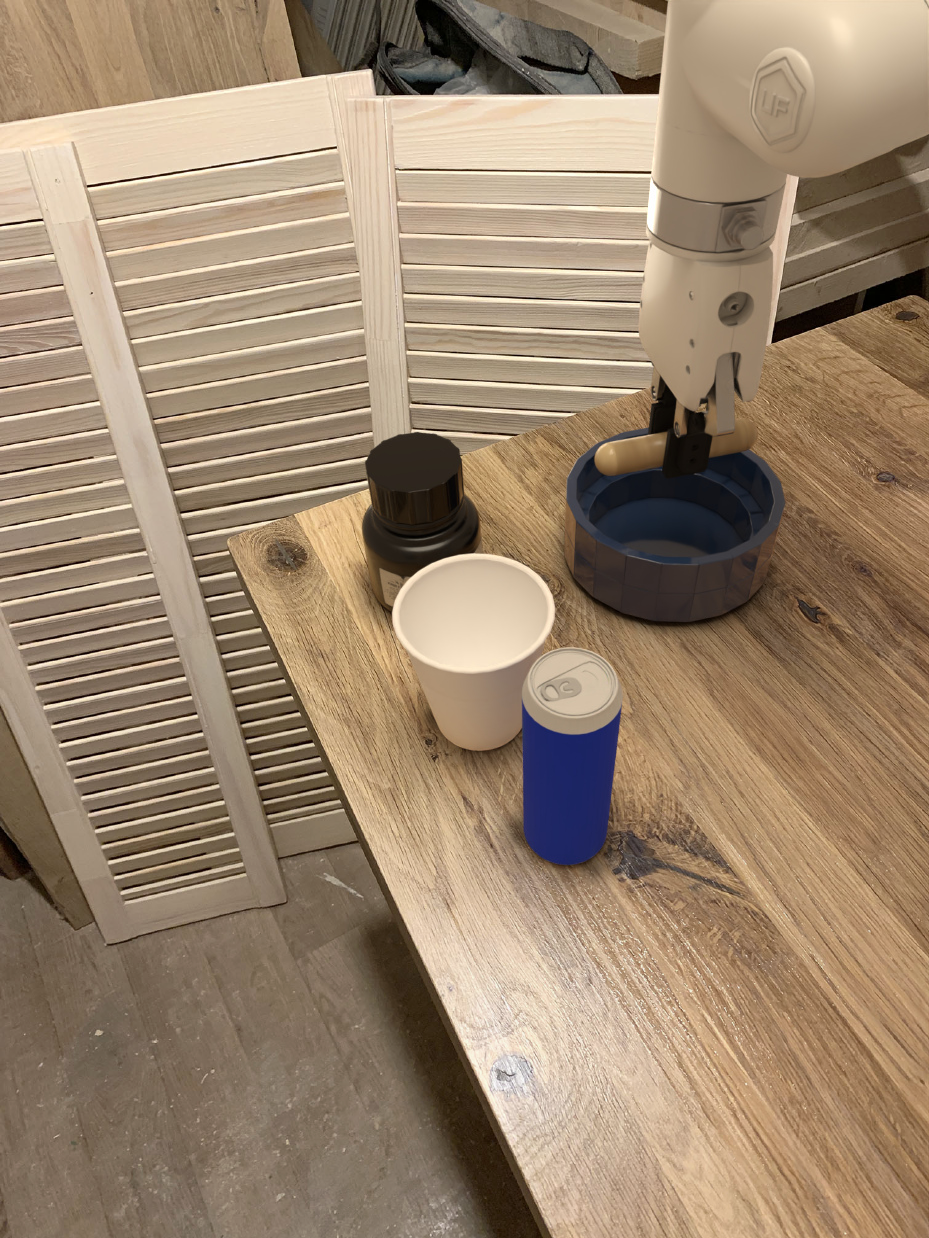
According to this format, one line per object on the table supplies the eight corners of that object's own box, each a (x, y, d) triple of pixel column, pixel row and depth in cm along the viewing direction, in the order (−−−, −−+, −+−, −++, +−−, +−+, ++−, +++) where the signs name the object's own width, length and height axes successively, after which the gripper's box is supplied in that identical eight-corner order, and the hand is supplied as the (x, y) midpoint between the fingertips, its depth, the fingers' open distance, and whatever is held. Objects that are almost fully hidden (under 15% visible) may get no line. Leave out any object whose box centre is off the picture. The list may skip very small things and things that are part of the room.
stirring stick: (746, 436, 69) (751, 409, 67) (760, 455, 67) (766, 428, 66) (589, 465, 68) (590, 438, 66) (599, 485, 66) (601, 458, 64)
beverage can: (583, 785, 60) (595, 631, 49) (621, 852, 57) (642, 702, 46) (510, 812, 59) (505, 661, 48) (544, 882, 56) (547, 736, 45)
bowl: (718, 474, 80) (730, 412, 76) (804, 603, 70) (824, 539, 65) (540, 509, 79) (541, 446, 74) (600, 646, 68) (605, 583, 63)
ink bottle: (392, 640, 69) (372, 520, 61) (350, 568, 75) (326, 448, 66) (507, 596, 72) (504, 473, 63) (459, 529, 77) (449, 408, 69)
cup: (577, 747, 62) (583, 639, 54) (439, 798, 60) (424, 694, 52) (517, 645, 68) (515, 534, 60) (390, 688, 66) (370, 580, 58)
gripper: (840, 261, 49) (772, 521, 63) (718, 147, 60) (683, 390, 73) (706, 283, 48) (667, 542, 62) (607, 163, 59) (592, 407, 72)
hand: (676, 458), depth 67 cm, fingers closed on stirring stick, 2 cm apart
